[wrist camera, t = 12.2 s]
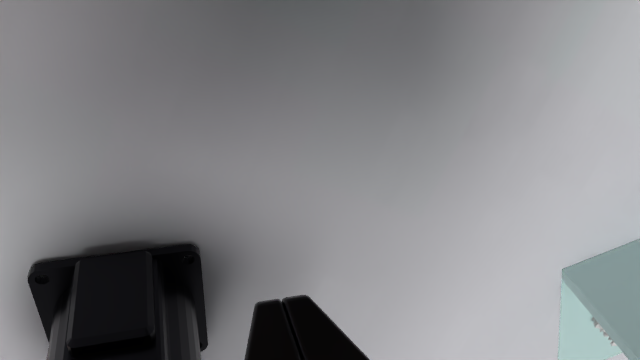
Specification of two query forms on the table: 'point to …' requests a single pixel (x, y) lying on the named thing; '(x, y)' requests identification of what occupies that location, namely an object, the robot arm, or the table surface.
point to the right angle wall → (601, 306)
